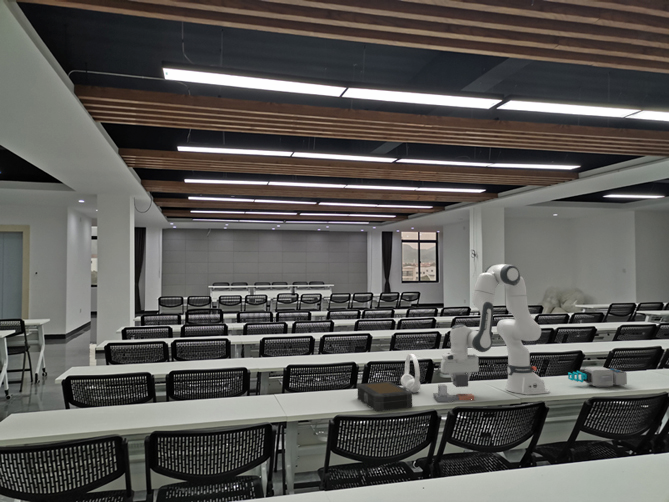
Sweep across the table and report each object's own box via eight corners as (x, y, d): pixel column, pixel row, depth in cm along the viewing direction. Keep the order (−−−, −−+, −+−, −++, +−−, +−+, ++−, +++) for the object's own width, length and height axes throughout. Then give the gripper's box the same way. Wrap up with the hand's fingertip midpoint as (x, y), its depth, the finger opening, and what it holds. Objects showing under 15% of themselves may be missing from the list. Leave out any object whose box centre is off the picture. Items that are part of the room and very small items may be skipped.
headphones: (423, 394, 248) (422, 356, 249) (409, 394, 247) (408, 357, 248) (411, 385, 268) (411, 350, 269) (398, 385, 267) (398, 351, 267)
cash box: (355, 399, 241) (355, 384, 241) (390, 395, 248) (389, 380, 248) (375, 412, 217) (375, 396, 218) (413, 408, 224) (413, 392, 225)
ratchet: (470, 397, 242) (470, 382, 243) (475, 401, 235) (475, 386, 235) (433, 398, 241) (433, 383, 241) (437, 402, 233) (437, 387, 234)
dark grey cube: (464, 383, 251) (463, 372, 251) (468, 386, 245) (467, 375, 245) (452, 383, 251) (452, 372, 251) (456, 387, 245) (456, 375, 245)
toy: (562, 365, 273) (611, 365, 274) (562, 382, 272) (612, 382, 273) (577, 371, 256) (630, 371, 257) (578, 390, 256) (630, 389, 257)
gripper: (476, 353, 252) (477, 378, 252) (439, 354, 251) (440, 380, 251) (480, 355, 246) (481, 381, 245) (442, 356, 245) (443, 383, 244)
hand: (460, 380), depth 248 cm, fingers closed on dark grey cube, 6 cm apart
